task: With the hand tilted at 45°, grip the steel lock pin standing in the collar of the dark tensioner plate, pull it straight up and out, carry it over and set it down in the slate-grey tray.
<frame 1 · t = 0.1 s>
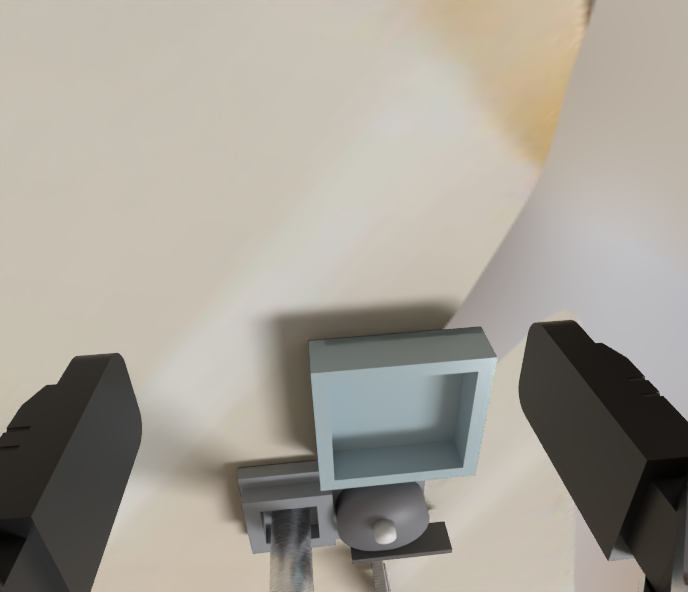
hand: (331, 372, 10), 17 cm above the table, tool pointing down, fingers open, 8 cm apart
lock pin: (290, 511, 40), point 1 cm above the table, touching tensioner plate
tensioner plate: (334, 495, 41), on the table
tray: (393, 396, 35), on the table
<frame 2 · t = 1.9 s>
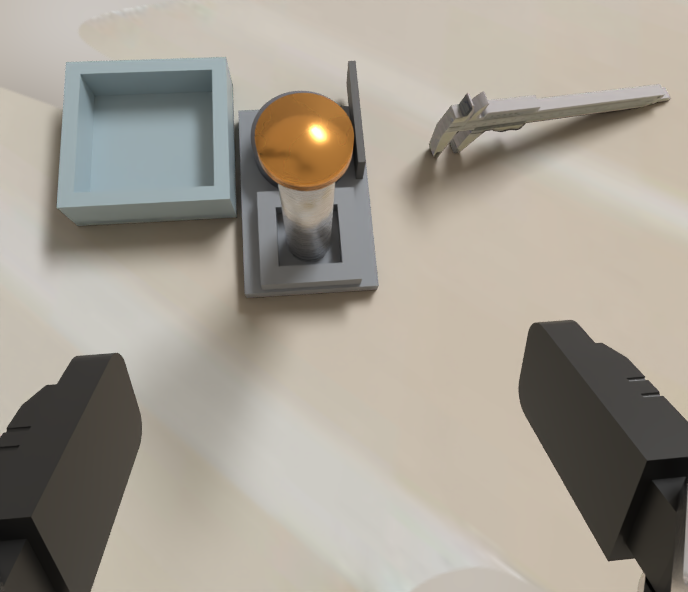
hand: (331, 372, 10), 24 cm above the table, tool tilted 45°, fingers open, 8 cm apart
lock pin: (308, 241, 35), point 1 cm above the table, touching tensioner plate
caliper: (549, 126, 40), on the table
tensioner plate: (306, 200, 37), on the table
tray: (158, 151, 37), on the table
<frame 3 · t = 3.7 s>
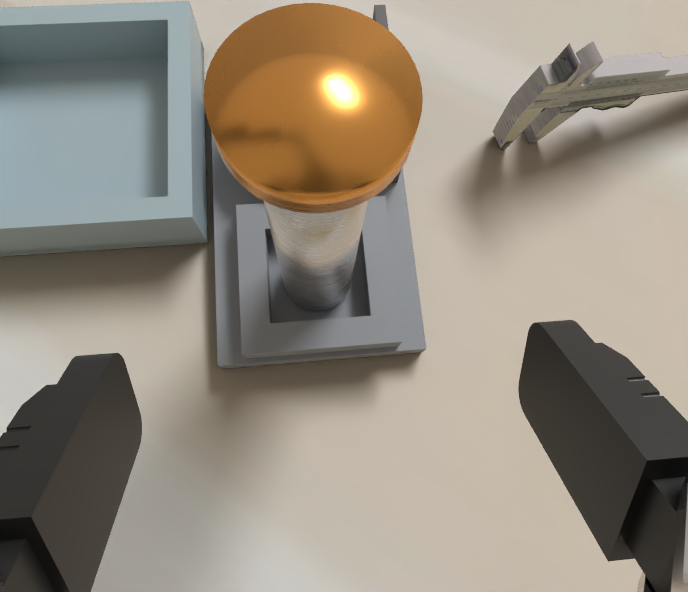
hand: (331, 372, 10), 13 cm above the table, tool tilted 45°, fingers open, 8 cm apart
lock pin: (317, 279, 23), point 1 cm above the table, touching tensioner plate
caliper: (662, 104, 28), on the table
tensioner plate: (311, 216, 25), on the table
tray: (92, 145, 25), on the table
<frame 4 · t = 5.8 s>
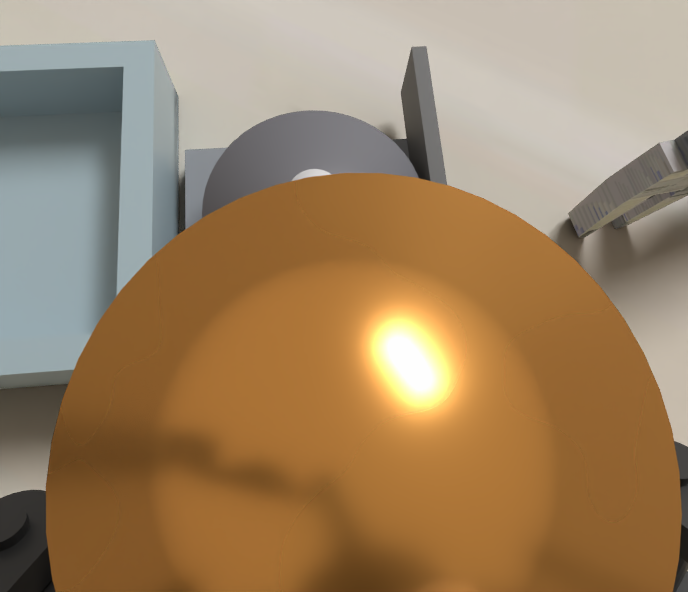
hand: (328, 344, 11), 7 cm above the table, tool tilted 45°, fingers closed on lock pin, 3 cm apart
lock pin: (331, 438, 16), point 1 cm above the table, touching gripper, tensioner plate
tensioner plate: (322, 335, 18), on the table
tray: (23, 234, 18), on the table
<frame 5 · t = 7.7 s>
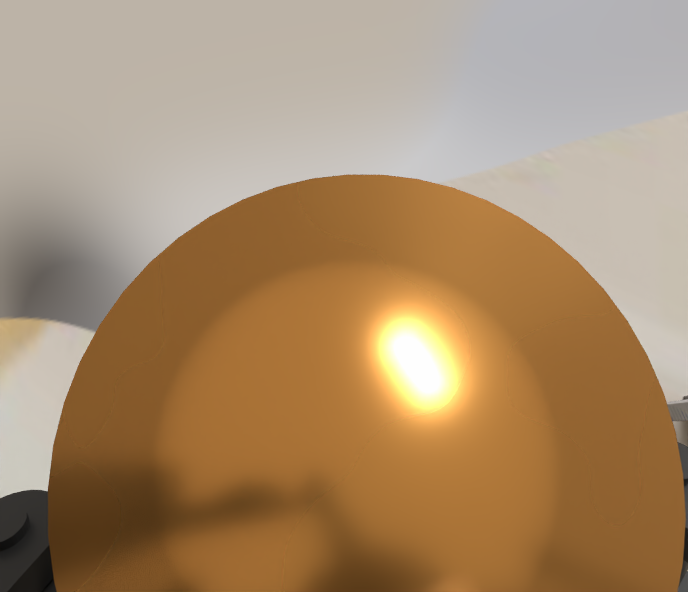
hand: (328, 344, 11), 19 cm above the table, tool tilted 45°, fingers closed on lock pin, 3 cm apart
lock pin: (331, 438, 16), point 14 cm above the table, touching gripper
when the fingers open (8 cm above the table, at t = 9.5 s): lock pin drops 2 cm, resting on tray.
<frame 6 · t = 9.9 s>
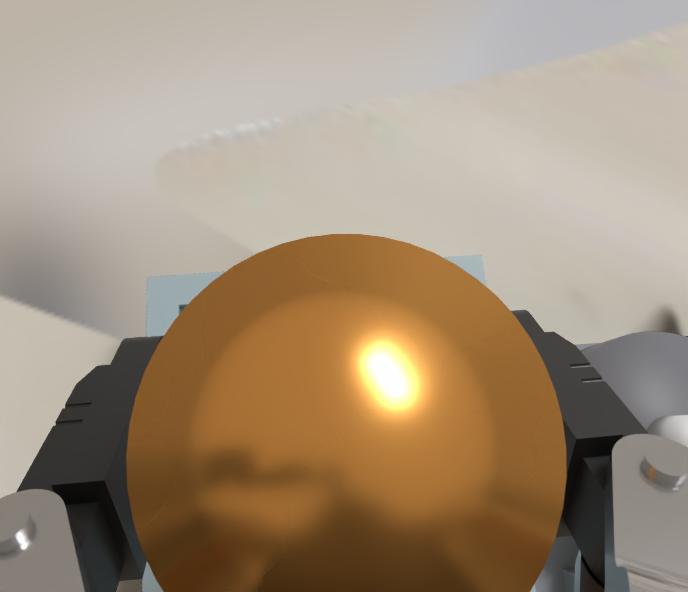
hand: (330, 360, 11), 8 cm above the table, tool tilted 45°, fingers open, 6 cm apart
lock pin: (330, 440, 18), point 1 cm above the table, touching tray
tensioner plate: (639, 544, 18), on the table
tray: (329, 438, 18), on the table
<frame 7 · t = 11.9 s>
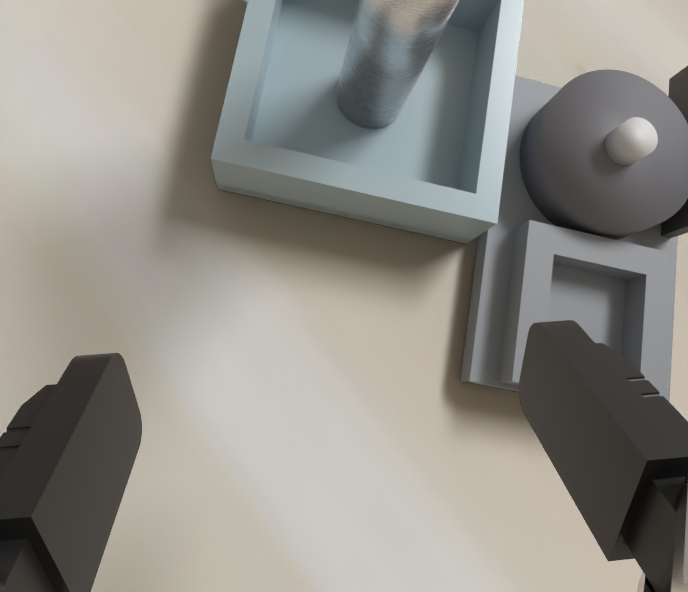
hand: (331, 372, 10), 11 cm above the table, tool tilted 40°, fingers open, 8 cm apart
lock pin: (370, 96, 22), point 1 cm above the table, touching tray
tensioner plate: (571, 245, 23), on the table
tray: (366, 102, 23), on the table
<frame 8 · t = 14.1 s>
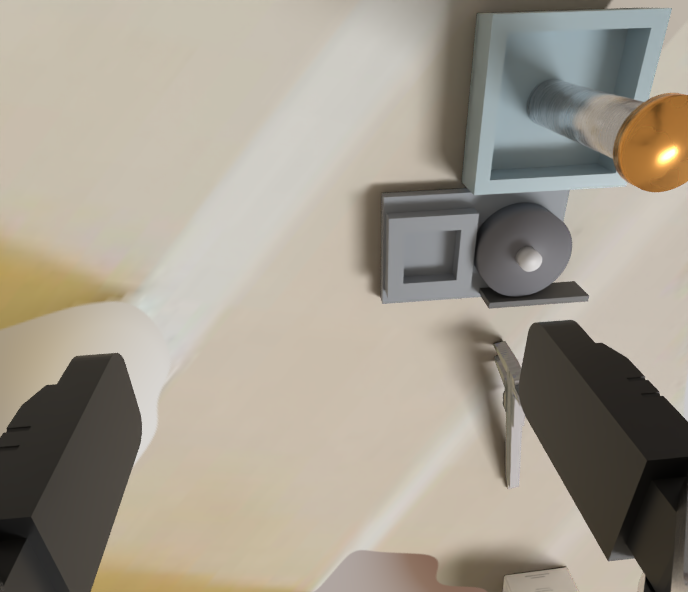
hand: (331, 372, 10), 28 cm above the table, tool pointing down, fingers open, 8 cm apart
lock pin: (548, 102, 35), point 1 cm above the table, touching tray
caliper: (503, 417, 51), on the table
tensioner plate: (468, 242, 41), on the table
tray: (545, 100, 36), on the table
ink box: (531, 587, 67), on the table
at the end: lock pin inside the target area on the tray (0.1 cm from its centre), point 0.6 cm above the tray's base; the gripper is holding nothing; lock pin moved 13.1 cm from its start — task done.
